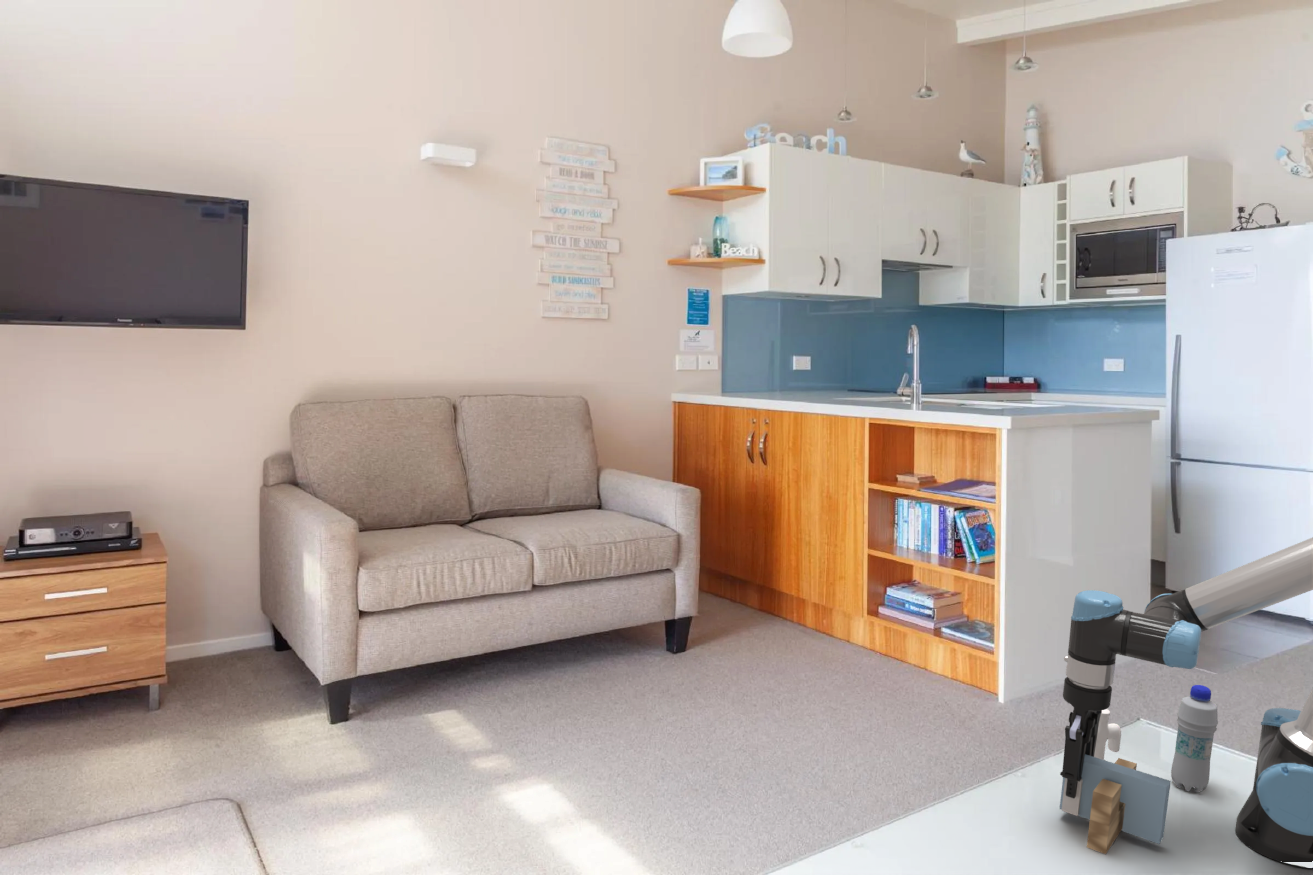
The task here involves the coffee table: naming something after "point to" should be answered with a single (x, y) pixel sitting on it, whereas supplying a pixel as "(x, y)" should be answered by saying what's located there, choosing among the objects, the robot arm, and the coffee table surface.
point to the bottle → (1194, 739)
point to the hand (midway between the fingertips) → (1073, 807)
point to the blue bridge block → (1128, 796)
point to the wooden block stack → (1106, 813)
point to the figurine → (1107, 735)
